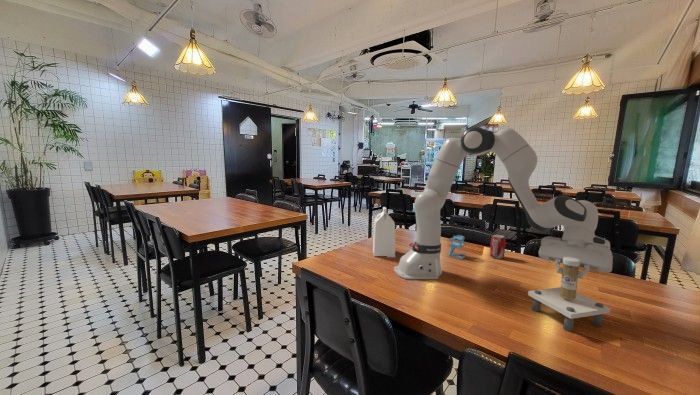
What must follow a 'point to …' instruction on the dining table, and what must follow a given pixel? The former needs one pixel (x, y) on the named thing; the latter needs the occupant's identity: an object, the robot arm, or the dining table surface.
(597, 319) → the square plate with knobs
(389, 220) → the milk
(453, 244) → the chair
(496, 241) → the soda can
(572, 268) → the sprinkles bottle
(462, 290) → the dining table surface
